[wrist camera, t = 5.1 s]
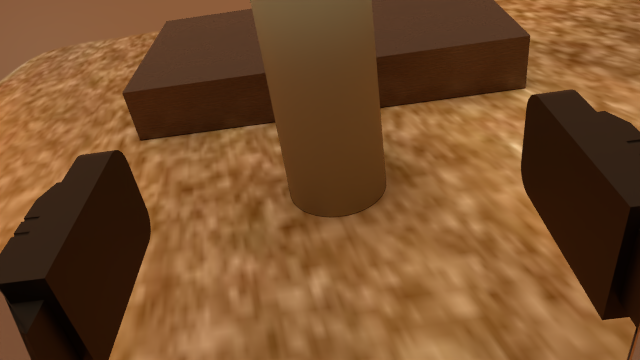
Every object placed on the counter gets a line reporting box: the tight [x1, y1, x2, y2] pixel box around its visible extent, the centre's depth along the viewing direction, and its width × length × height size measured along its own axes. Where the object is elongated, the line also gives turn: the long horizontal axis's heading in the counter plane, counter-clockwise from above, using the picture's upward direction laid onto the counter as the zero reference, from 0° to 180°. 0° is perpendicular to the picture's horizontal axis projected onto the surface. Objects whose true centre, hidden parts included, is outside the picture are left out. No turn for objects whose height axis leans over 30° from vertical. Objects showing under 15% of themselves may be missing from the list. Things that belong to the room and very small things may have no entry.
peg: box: [250, 0, 386, 217], centre depth 21 cm, size 4×4×14 cm
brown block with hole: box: [123, 0, 530, 140], centre depth 34 cm, size 22×12×3 cm, turn 92°
